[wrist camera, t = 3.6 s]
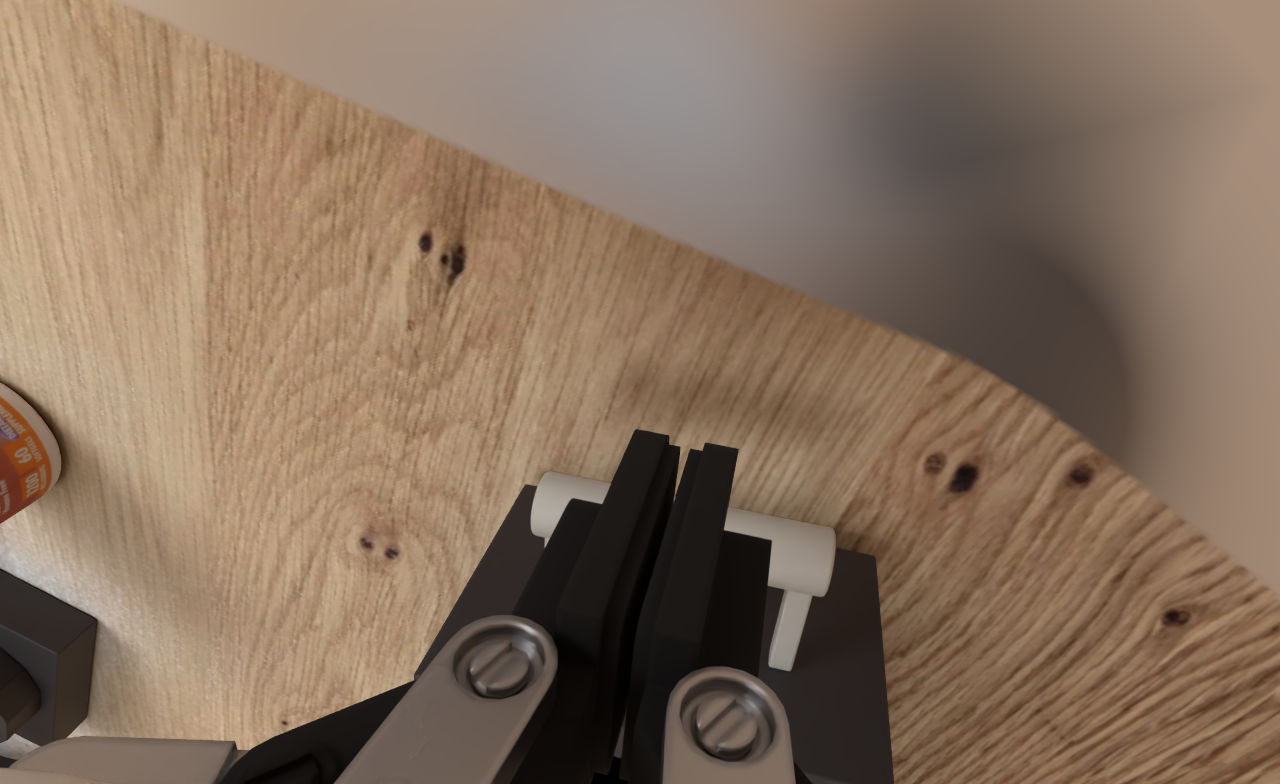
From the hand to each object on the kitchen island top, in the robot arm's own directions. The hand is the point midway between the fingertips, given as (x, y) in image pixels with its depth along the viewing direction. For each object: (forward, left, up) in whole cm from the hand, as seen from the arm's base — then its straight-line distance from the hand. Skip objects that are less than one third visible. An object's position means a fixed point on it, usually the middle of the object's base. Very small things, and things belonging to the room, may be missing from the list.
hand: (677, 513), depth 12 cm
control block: (+37, -21, -10) cm, 43 cm away
